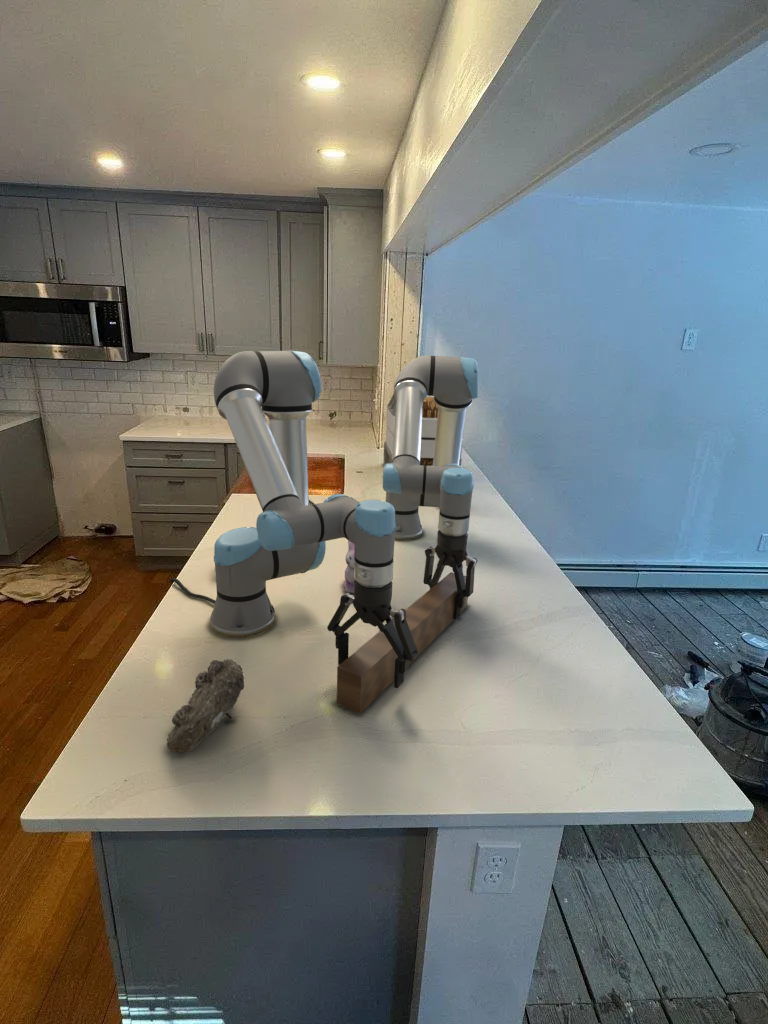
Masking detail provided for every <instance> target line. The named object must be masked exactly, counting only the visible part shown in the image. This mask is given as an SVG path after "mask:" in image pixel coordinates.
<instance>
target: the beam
mask: <svg viewBox="0 0 768 1024" xmlns="http://www.w3.org/2000/svg"><path fill="white" fill-rule="evenodd" d="M464 581H465V586H466V575H464ZM457 594H458V591H457V585H456V580H455V575H454V572H453V571H450V572H449V573H448V574H447V575H445V576H444V577H443V578H442V579H440V580H439V582H438V583H437V584H436V585H435V586H434V587H432V588H431V589H430V588H429V589H428V591H426V592H425V593H424V594H422V595H421V596H420V597H419V598H418V599H416V600H415V601H414V602H413V603H412V604H411V605H409V606H408V607H407V608H406V609H404V610H405V611H406V621H407V623H408V626H409V629H410V631H411V634H412V637H413V639H414V642H415V645H416V647H417V650H418V653H419V654H418V655H417V656H416V657H415V658H414V659H413V660H412V661H409V665H410V664H411V663H412V662H413V661H414V660H415V659H416V658H417V657H419V655H420V654H421V653H422V652H423V651H424V650H425V649H426V648H427V647H428V646H430V645H431V643H433V642H434V641H435V639H436V638H438V637H439V635H440V634H441V633H442V632H443V631H444V630H445V629H446V628H448V626H449V625H451V623H452V622H453V621H455V619H453V615H454V605H455V596H456V595H457ZM468 601H469V597H465V605H464V606H463V607H462V608H461V612H460V614H461V613H462V612H463V611H464V610H465V609H466V608H467V607H468V603H469V602H468ZM393 625H394V627H395V622H394V623H393ZM395 628H396V627H395ZM397 657H398V656H397V654H396V653H395V651H394V649H393V648H392V646H391V644H390V643H389V641H388V640H387V638H386V636H385V635H384V633H383V632H381V631H380V630H379V631H378V632H377V633H376V634H374V636H372V637H371V638H370V639H369V640H367V641H366V642H365V643H364V644H363V645H362V646H360V647H359V648H357V650H356V651H354V652H353V653H352V654H350V656H348V658H347V659H346V660H345V661H344V662H343V663H341V664H340V665H338V666H337V667H336V668H337V669H336V704H337V705H339V706H341V707H343V708H346V709H348V710H350V711H352V712H355V713H356V714H358V715H361V714H362V713H363V712H364V711H365V710H366V709H367V708H368V707H369V706H370V705H371V704H372V702H374V701H375V700H376V699H377V698H378V697H379V696H380V695H381V694H382V693H383V691H385V690H386V688H388V687H389V686H390V685H391V683H393V682H394V674H395V659H396V658H397Z"/></svg>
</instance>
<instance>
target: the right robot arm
mask: <svg viewBox="0 0 768 1024" xmlns="http://www.w3.org/2000/svg"><path fill="white" fill-rule="evenodd" d="M478 367H479V366H478V362H477V360H476V359H475V358H473V357H466V356H465V357H464V356H462V355H461V356H448V355H447V356H444V355H440V356H439V355H429V354H427V355H420V356H417V357H415V358H413V359H412V360H410V361H408V362H407V363H406V365H404V366H403V368H402V369H401V370H400V371H399V372H398V375H397V377H396V379H395V381H394V382H395V383H394V386H393V394H394V397H395V399H396V400H397V402H396V414H395V427H394V439H393V452H392V463H390V464H385V465H384V464H383V471H382V490H383V492H385V502H388V503H390V504H391V505H392V506H393V507H394V509H395V523H396V529H395V541H410V540H415V539H418V538H420V537H421V536H422V535H423V525H422V524H421V518H420V515H419V507H425V508H426V507H427V508H439V507H440V508H439V513H438V522H437V528H438V530H437V535H436V546H435V547H434V546H431V545H430V546H428V547H427V548H426V549H424V554H425V565H424V571H423V572H424V573H423V580H422V581H423V584H424V585H427V586H428V587H429V590H430V589H431V588H432V587H434V586H435V585H436V584H437V583H438V582H439V581H440V580H441V576H442V574H443V572H444V570H445V567H446V566H447V567H449V568H452V569H451V570H452V572H453V573H454V575H455V580H456V585H457V591H458V594H457V595H456V596H455V605H454V615H453V619H454V621H456V620H457V619H458V618H459V617H460V616H461V613H462V612H461V608H462V607H463V606H464V605H465V597H468V598H469V597H470V596H471V595H472V594H474V586H475V584H474V583H475V572H476V571H475V570H476V565H477V563H478V559H477V558H476V557H474V558H472V557H470V556H469V555H468V551H467V548H468V540H469V533H468V532H469V531H470V520H471V519H470V518H471V507H472V497H473V491H474V487H475V485H474V473H473V472H472V471H471V470H469V469H468V468H463V467H462V465H461V466H460V465H459V460H460V452H461V444H462V445H463V443H462V441H463V438H462V436H463V437H464V432H463V429H465V421H466V420H465V419H466V412H467V408H469V407H470V406H471V405H472V404H473V400H475V399H478V397H479V368H478ZM426 397H434V401H435V403H436V404H437V405H438V415H437V426H436V437H435V448H434V458H433V465H430V466H429V465H428V466H422V465H420V452H421V430H422V408H423V401H424V400H425V398H426ZM309 504H310V505H312V504H315V503H314V502H313V501H312V500H310V499H309ZM435 556H437V558H438V562H437V565H436V567H435V570H434V565H435V564H434V563H435ZM464 561H465V566H466V571H465V572H466V574H465V575H464V571H463V570H464V568H463V567H464V565H463V562H464ZM433 570H434V571H433ZM433 572H434V573H433ZM464 576H466V586H465V581H464ZM460 612H461V613H460Z"/></svg>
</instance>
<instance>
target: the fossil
mask: <svg viewBox="0 0 768 1024" xmlns="http://www.w3.org/2000/svg"><path fill="white" fill-rule="evenodd" d="M243 670H244V669H243V667H242V665H240V664H237V662H236V661H235V660H234V659H232V658H231V659H227V658H226V659H224V660H223V661H222V660H217V659H212V660H211V661H210V663H209V665H208V666H207V671H201V672H199V673H198V674H197V675H196V676H195V680H194V684H195V685H194V687H195V689H194V690H193V693H192V694H191V697H190V698H189V700H188V704H184V705H182V706H181V707H180V709H177V710H176V711H175V713H174V715H173V716H172V718H171V723H172V724H173V727H172V730H171V731H170V732H168V734H167V738H166V741H167V742H166V745H167V749H168V750H169V751H173V752H174V753H176V754H178V753H182V752H188V751H189V752H192V751H193V750H195V748H196V747H197V746H199V744H200V743H201V742H203V741H204V740H205V739H206V738H207V737H208V736H209V735H210V734H211V733H212V732H214V730H215V729H217V727H218V726H219V724H220V722H221V721H222V720H223V719H224V718H225V716H226V717H227V719H229V720H233V717H232V715H230V714H229V710H230V709H231V708H234V706H235V704H236V703H237V702H238V699H239V697H240V695H241V693H242V691H243V690H245V689H244V688H245V675H244V671H243Z"/></svg>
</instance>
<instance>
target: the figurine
mask: <svg viewBox="0 0 768 1024" xmlns="http://www.w3.org/2000/svg"><path fill="white" fill-rule="evenodd" d="M347 544H348V545H347V548H348V550H347V552H346V555H345V560H344V561H345V563H346V565H347V566H346V567H345V570H344V579H345V580H344V583H343V585H344V588H345V592H346V593H347V592H349V591H350V592H351V593H352V594H354V580H355V578H354V556H355V544H354V543H352V542H350V541H349V540H348V539H347Z"/></svg>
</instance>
